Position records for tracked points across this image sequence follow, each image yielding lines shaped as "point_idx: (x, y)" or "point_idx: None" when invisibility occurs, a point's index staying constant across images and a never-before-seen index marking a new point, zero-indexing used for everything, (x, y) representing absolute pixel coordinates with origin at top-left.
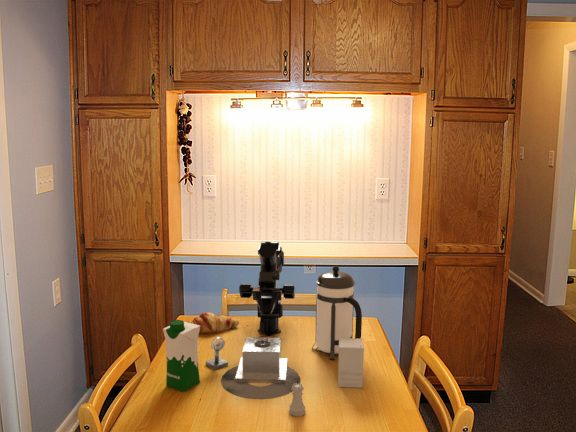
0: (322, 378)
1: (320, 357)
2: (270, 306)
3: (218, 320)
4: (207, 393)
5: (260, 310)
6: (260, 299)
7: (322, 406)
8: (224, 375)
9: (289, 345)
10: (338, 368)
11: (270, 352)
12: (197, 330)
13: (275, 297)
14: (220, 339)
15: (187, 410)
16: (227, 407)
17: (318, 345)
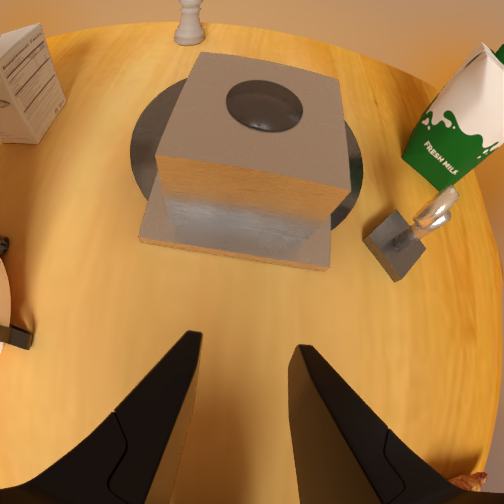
0: (77, 133)
1: (25, 269)
2: (182, 387)
3: None
4: (371, 114)
5: (325, 360)
6: (390, 483)
7: (135, 50)
8: (358, 175)
9: (110, 409)
10: (46, 85)
11: (233, 57)
12: (479, 57)
13: (44, 496)
14: (441, 195)
15: (381, 83)
16: (319, 68)
17: (4, 287)
